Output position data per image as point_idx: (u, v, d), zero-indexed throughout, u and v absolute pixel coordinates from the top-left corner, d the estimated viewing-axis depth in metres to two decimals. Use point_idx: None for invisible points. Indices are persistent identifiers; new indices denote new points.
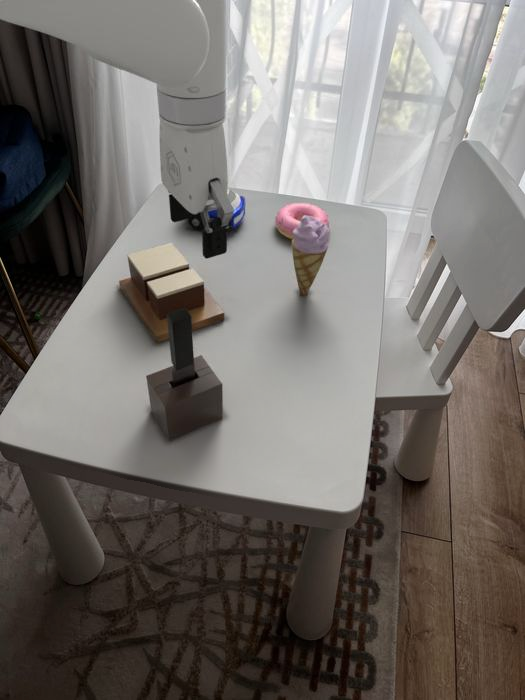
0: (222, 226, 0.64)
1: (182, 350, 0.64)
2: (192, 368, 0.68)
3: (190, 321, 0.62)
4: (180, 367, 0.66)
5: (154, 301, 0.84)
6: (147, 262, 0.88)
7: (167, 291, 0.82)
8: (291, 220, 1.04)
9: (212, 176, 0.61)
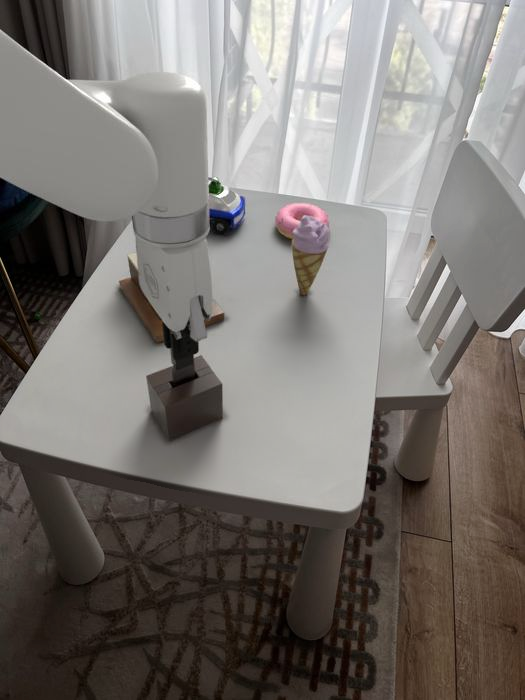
0: None
1: None
2: (192, 368, 0.68)
3: None
4: (180, 367, 0.66)
5: None
6: None
7: None
8: (291, 220, 1.04)
9: (194, 294, 0.53)
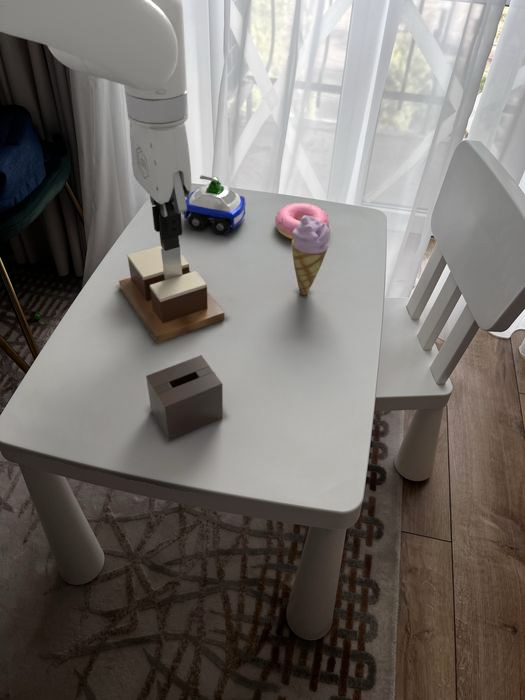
0: None
1: None
2: (178, 252, 0.82)
3: None
4: (168, 248, 0.80)
5: (157, 304, 0.83)
6: (147, 262, 0.88)
7: (170, 294, 0.82)
8: (291, 220, 1.04)
9: (176, 169, 0.68)
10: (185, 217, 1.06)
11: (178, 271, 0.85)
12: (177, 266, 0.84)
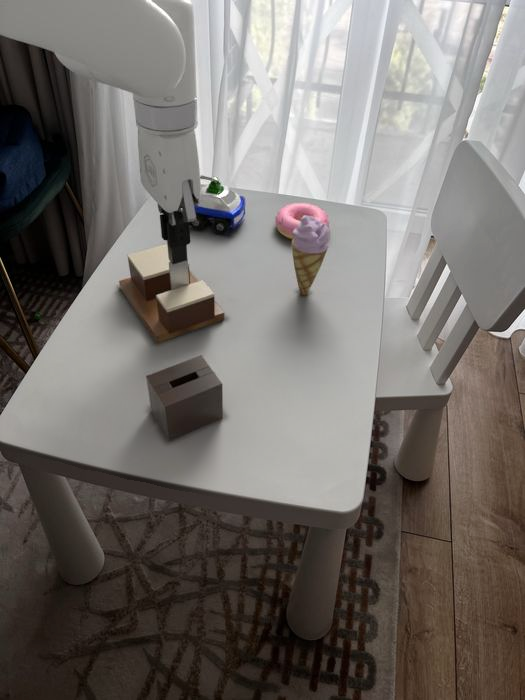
0: None
1: None
2: (185, 265, 0.81)
3: None
4: (176, 261, 0.79)
5: (163, 315, 0.82)
6: (147, 262, 0.88)
7: (177, 304, 0.80)
8: (291, 220, 1.04)
9: (186, 177, 0.66)
10: None
11: (185, 284, 0.84)
12: (184, 279, 0.83)
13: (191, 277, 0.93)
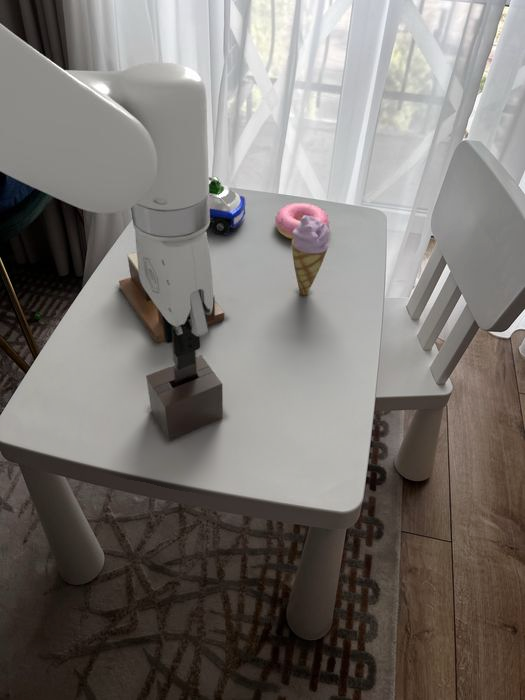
0: None
1: None
2: (193, 367, 0.68)
3: None
4: (182, 366, 0.66)
5: None
6: None
7: None
8: (291, 220, 1.04)
9: (195, 288, 0.53)
10: None
11: None
12: None
13: None
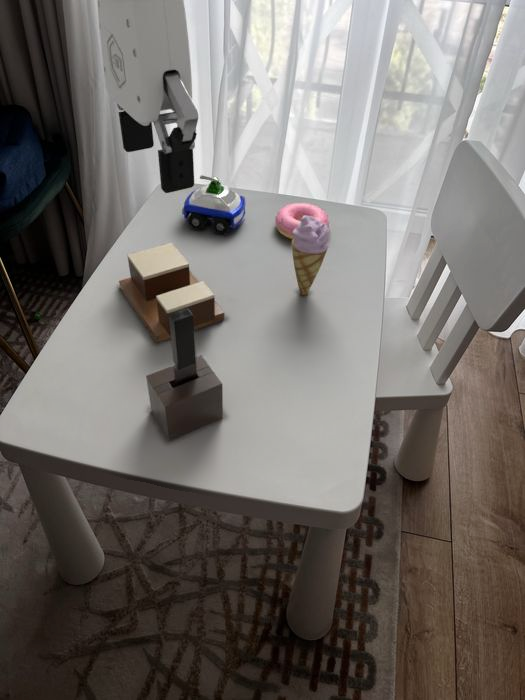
0: (184, 142, 0.46)
1: (184, 350, 0.64)
2: (193, 367, 0.68)
3: (192, 320, 0.62)
4: (182, 366, 0.66)
5: (163, 315, 0.81)
6: (147, 262, 0.88)
7: (177, 305, 0.80)
8: (291, 220, 1.04)
9: (168, 65, 0.43)
10: (185, 217, 1.06)
11: None
12: None
13: (191, 277, 0.93)
